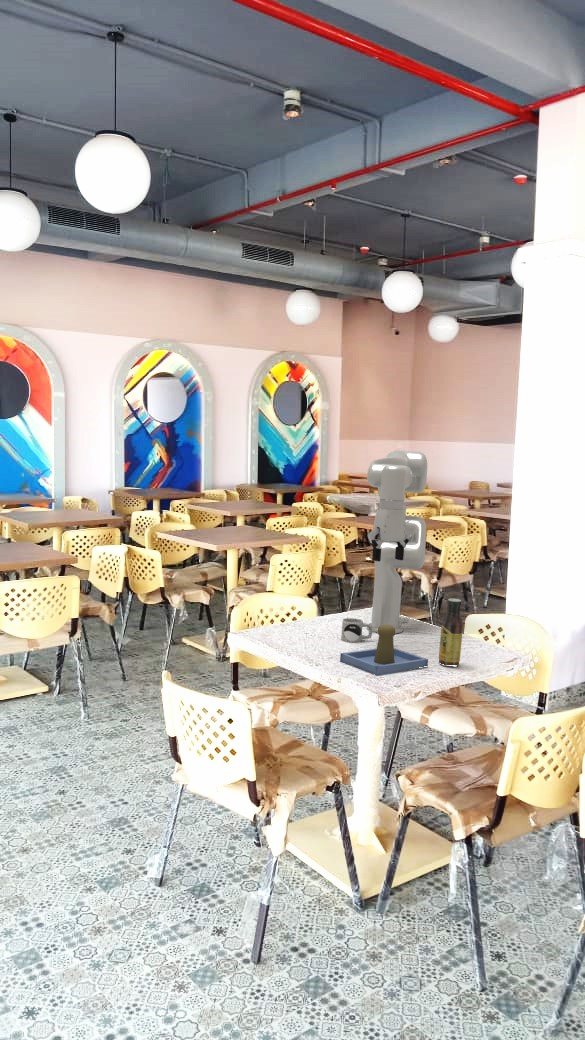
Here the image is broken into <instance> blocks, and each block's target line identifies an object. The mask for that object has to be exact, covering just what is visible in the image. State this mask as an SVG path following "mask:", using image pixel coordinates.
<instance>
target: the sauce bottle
mask: <svg viewBox="0 0 585 1040" xmlns="http://www.w3.org/2000/svg"><path fill="white" fill-rule="evenodd" d="M446 604H447V610H446V614H445V617H444V619H443V621H442V623H441V628H440V639H439V650H438V664H439V663H441V664H444V665H458V664H460V661H461V651H462V641H463V640H462V639H463V627H464V623H463V620H462V617H461V607H462V600H461V599H459V598H448V599H447V603H446ZM441 664H440V665H441ZM458 666H459V665H458Z"/></svg>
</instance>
